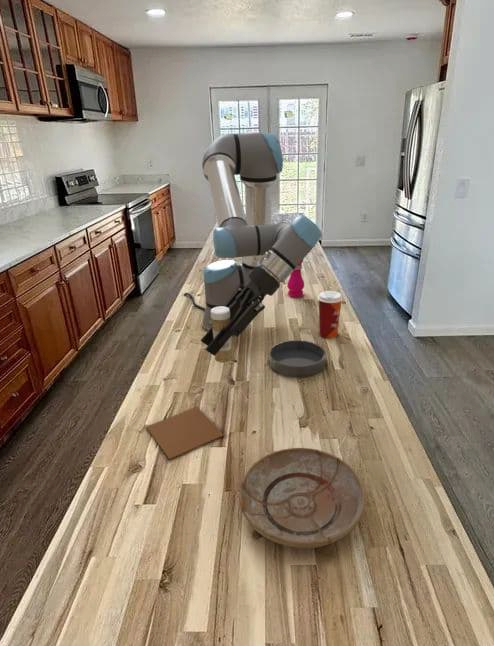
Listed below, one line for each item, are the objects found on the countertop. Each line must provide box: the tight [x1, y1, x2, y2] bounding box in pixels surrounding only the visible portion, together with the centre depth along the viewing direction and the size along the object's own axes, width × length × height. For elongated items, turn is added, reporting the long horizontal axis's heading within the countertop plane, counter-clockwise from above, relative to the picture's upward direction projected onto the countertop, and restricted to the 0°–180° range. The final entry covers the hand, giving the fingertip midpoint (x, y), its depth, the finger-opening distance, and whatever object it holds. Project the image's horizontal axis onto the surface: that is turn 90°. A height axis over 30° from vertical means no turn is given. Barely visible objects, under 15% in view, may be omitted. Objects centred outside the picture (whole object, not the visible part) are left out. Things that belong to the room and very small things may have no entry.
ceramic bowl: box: [238, 447, 366, 549], centre depth 83 cm, size 23×24×5 cm
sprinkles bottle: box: [211, 306, 234, 364], centre depth 106 cm, size 5×5×14 cm
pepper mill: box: [286, 259, 305, 298], centre depth 183 cm, size 7×7×20 cm
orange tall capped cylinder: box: [317, 290, 343, 339], centre depth 149 cm, size 8×8×15 cm
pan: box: [268, 339, 326, 378], centre depth 134 cm, size 17×17×4 cm
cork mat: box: [146, 406, 225, 461], centre depth 106 cm, size 14×14×1 cm
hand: (207, 347), depth 106 cm, fingers closed on sprinkles bottle, 4 cm apart
